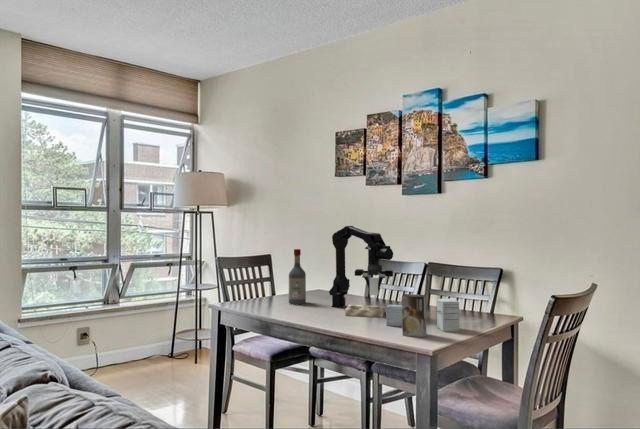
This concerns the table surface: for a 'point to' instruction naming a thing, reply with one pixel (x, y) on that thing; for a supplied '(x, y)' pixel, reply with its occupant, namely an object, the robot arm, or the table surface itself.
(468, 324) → the table surface
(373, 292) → the white squarish block
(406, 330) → the coffee box
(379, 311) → the socket block
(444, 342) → the table surface
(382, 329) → the table surface
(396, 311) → the medicine box
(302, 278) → the liquor
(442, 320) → the supplement box
